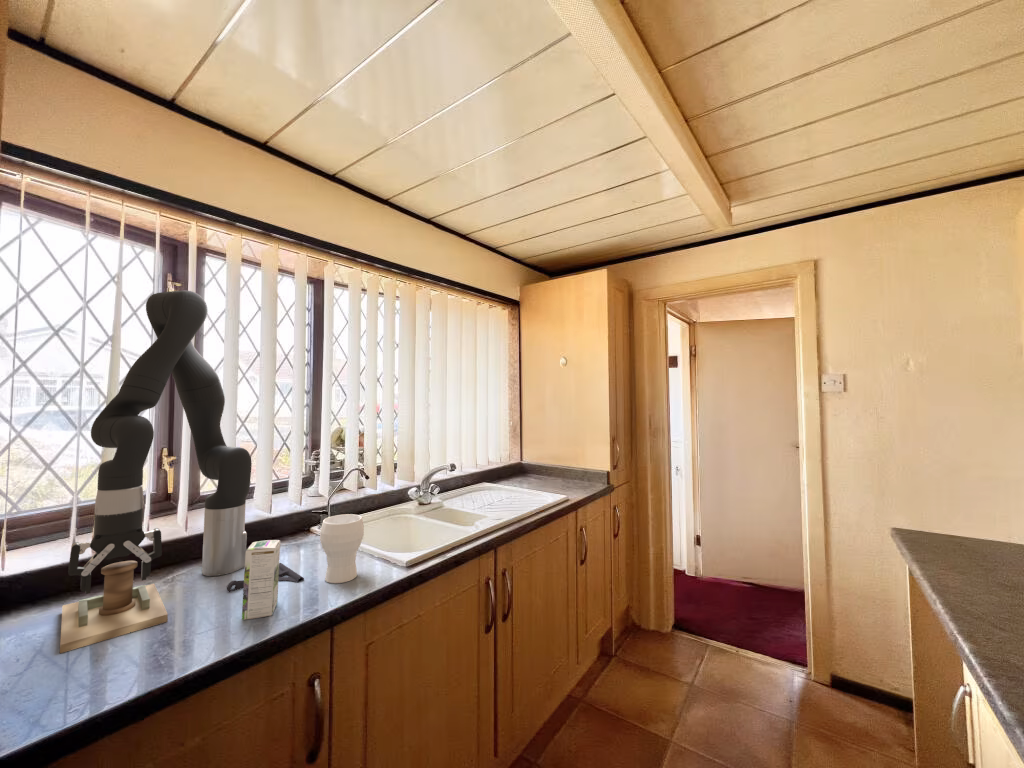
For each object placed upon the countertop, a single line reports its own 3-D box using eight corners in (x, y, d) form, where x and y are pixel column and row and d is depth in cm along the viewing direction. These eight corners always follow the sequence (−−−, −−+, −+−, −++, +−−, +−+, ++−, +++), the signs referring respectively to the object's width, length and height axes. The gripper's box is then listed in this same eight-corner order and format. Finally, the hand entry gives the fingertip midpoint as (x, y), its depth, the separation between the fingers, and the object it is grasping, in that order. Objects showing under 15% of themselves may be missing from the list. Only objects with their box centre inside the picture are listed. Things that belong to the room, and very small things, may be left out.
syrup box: (248, 608, 91) (250, 541, 91) (278, 603, 93) (280, 538, 93) (241, 621, 85) (243, 550, 86) (273, 616, 87) (275, 546, 88)
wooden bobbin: (134, 599, 91) (136, 558, 91) (136, 608, 87) (138, 565, 88) (98, 609, 87) (100, 565, 87) (99, 618, 83) (101, 573, 83)
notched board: (153, 589, 99) (154, 575, 99) (167, 621, 85) (168, 604, 85) (62, 612, 88) (63, 596, 88) (59, 653, 74) (60, 633, 74)
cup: (309, 582, 103) (311, 522, 104) (338, 567, 114) (340, 512, 114) (344, 588, 100) (345, 526, 101) (371, 571, 110) (372, 515, 111)
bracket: (218, 585, 103) (219, 574, 103) (282, 567, 114) (282, 557, 114) (236, 604, 94) (237, 592, 94) (304, 583, 105) (304, 572, 105)
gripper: (160, 499, 95) (158, 570, 95) (70, 511, 85) (67, 591, 84) (165, 505, 90) (162, 580, 90) (70, 519, 80) (66, 603, 79)
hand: (116, 585), depth 87 cm, fingers open, 8 cm apart
